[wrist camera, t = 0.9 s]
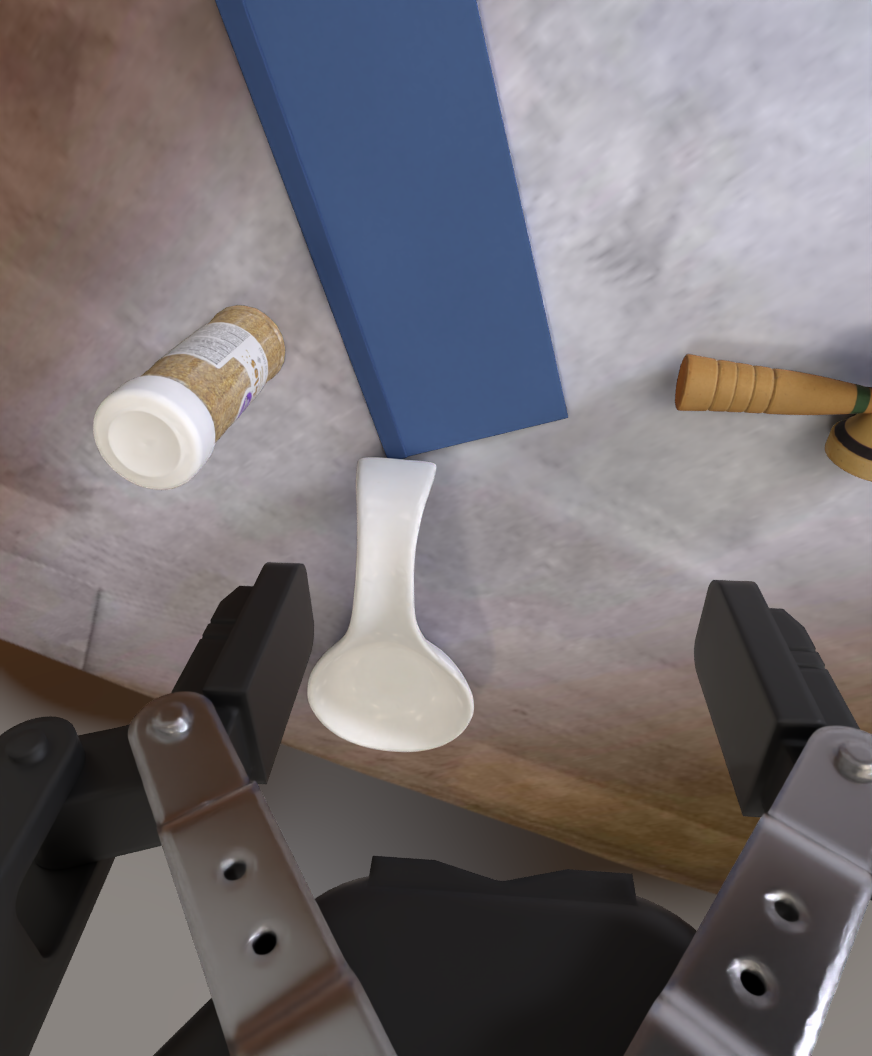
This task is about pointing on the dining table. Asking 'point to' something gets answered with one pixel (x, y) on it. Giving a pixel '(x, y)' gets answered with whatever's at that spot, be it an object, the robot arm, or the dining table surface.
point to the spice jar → (188, 399)
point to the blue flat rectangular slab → (406, 208)
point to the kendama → (783, 402)
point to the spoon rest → (389, 629)
